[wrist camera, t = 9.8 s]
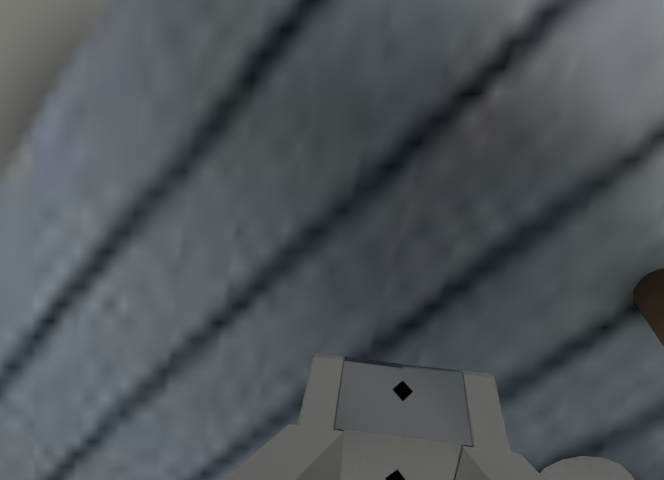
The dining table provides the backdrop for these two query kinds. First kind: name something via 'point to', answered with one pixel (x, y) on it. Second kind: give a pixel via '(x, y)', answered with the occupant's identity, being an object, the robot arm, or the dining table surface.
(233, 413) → the dining table surface
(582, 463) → the shot glass
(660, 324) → the post
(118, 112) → the dining table surface
